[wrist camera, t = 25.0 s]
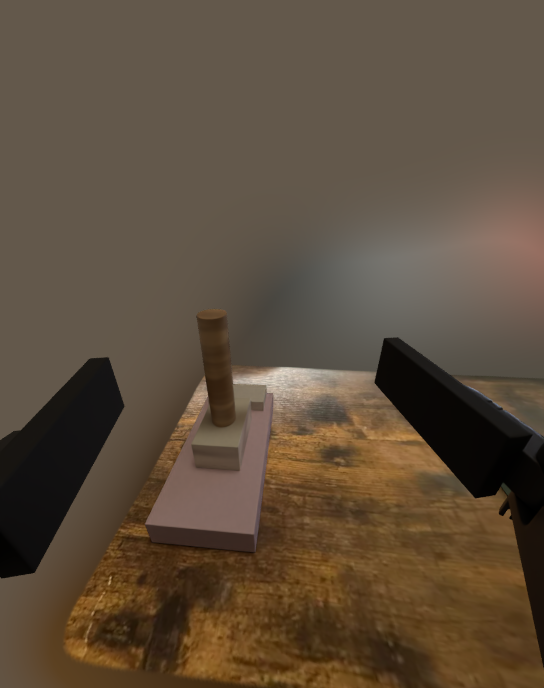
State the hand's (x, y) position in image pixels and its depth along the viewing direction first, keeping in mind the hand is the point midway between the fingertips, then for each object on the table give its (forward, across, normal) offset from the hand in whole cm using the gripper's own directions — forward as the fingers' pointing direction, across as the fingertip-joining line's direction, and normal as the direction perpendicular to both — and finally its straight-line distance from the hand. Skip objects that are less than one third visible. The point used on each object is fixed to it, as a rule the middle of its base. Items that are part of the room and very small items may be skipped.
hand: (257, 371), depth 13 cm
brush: (+13, -3, -18) cm, 22 cm away
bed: (+13, -3, -21) cm, 25 cm away
